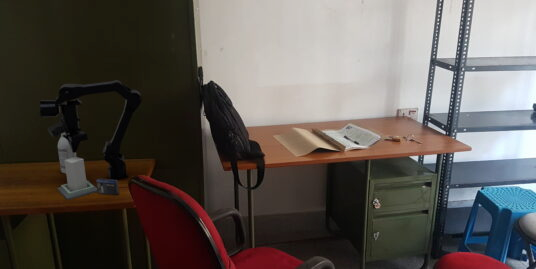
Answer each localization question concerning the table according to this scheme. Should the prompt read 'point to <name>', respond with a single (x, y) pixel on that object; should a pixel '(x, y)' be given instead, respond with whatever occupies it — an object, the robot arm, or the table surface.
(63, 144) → the bath foam
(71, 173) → the white post
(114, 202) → the table surface
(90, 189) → the base plate
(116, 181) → the mini dv tape
